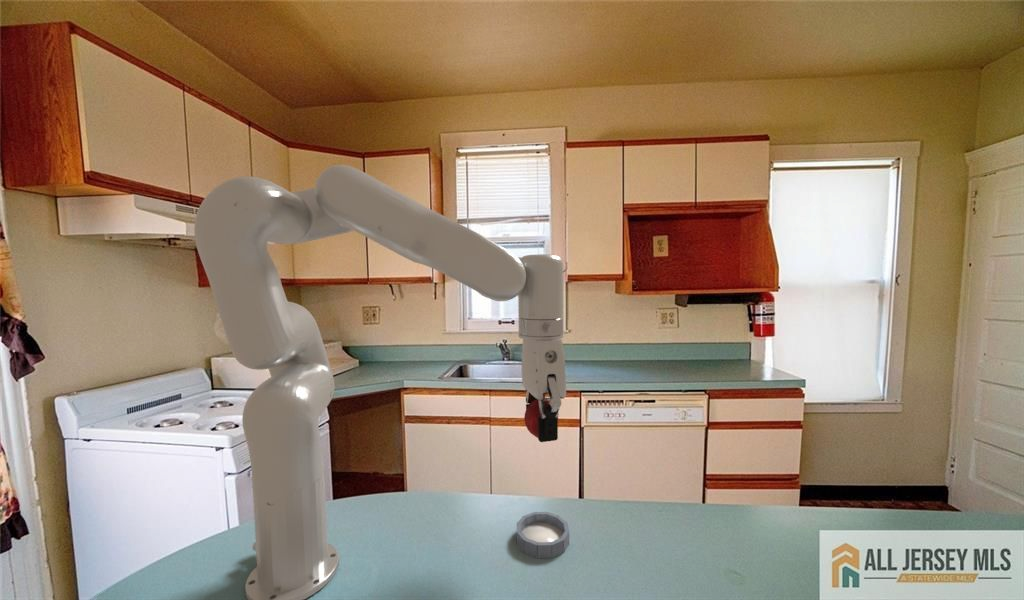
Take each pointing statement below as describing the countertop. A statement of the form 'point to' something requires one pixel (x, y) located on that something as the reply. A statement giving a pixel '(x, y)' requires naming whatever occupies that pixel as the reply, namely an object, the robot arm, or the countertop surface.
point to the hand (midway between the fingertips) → (541, 431)
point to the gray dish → (542, 534)
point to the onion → (533, 416)
